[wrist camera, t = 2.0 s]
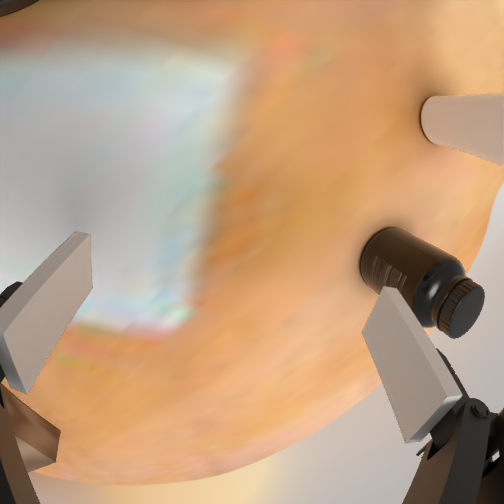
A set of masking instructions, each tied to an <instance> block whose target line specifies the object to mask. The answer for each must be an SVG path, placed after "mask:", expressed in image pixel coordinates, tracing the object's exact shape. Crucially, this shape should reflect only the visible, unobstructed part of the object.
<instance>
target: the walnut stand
mask: <svg viewBox="0 0 504 504" xmlns="http://www.w3.org/2000/svg"><path fill="white" fill-rule="evenodd" d="M1 385H2V384H1ZM2 388H3V391H4V395H5V400H6V404H7V408H8V412H9V416H10V420H11V424H12V427H13V431H14V434H15V438H16V441H17V444H18V447H19V450H20V453H21V456H22V459H23V462H24V465H25V467H26V470H27V473H28V472H30V471H33V470H36V469H39V468H42V467H44V466H47V465H50V464H52V463H55V462H56V457H57V450H58V443H59V437H60V430H59V429H57V428H56V427H54V426H53V425H52V424H50V423H49V422H47V421H46V420H45V419H43V418H42V417H41V416H39V415H38V414H37V413H36V412H34V411H33V410H32V409H30V408H29V407H28V406H27V405H25V404H24V403H23V402H22V401H21V400H19V399H18V398H17V397H16V396H15V395H13V394H12V393H11V392H10V391H9V390H8V389H6V388H5V387H4V386H3V385H2Z"/></svg>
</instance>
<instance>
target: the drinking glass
mask: <svg viewBox="0 0 504 504" xmlns="http://www.w3.org/2000/svg"><path fill="white" fill-rule="evenodd" d="M421 123H422V128H423V131H424V133H425V135H426V137H427V138H428V139H429V140H430V141H431V142H432V143H434V144H436V145H438V146H443V147H448V148H452V149H455V150H458V151H461V152H464V153H467V154H470V155H473V156H476V157H479V158H482V159H484V160H487V161H490V162H492V163H495V164H498V165H500V166H503V167H504V93H485V94H465V95H449V96H444V95H437V96H432V97H430V98H429V99H428V100H427V101H426V102H425V103H424V105H423V108H422V112H421Z"/></svg>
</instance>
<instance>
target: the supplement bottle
mask: <svg viewBox="0 0 504 504" xmlns="http://www.w3.org/2000/svg"><path fill="white" fill-rule="evenodd" d="M361 273H362V277H363V279H364V281H365V283H366V284H367V285H368V286H369V287H370V288H372V289H373V290H374V291H375V292H376V293H378V294H379V295H380V293H381V291H382V289H383V286H385V287H391V288H397V289H398V291H399V292H400V294H401V295H402V297H403V298H404V300H405V301H406V303H407V304H408V306H409V307H410V309H411V310H412V312H413V313H414V315H415V316H416V318H417V319H418V321H419V323H420V324H421V326H422V327H423V328H432V327H435V326H436V327H437V328H438V329H439V330H440V331H442V332H444V333H445V334H446V335H448V336H449V337H450V338H454V339H455V338H459V337H461V336H462V335H464V334H465V333H466V332H468V330H469V329H470V328H471V327H472V326H473V324H474V323H475V321H476V320H477V318H478V316H479V315H480V312H481V310H482V307H483V304H484V298H485V295H484V294H485V293H484V290H483V288H482V287H481V286H480V285H478V284H476V283H475V282H473V281H472V280H471V279H470V278H468V277H466V274H465V270H464V268H463V265H462V264H461V262H460V261H459V260H458V259H457V258H455V257H454V256H452V255H450V254H448V253H447V252H445V251H443V250H441V249H439V248H437V247H435V246H433V245H431V244H430V243H428V242H426V241H424V240H422V239H420V238H418V237H416V236H414V235H412V234H410V233H408V232H406V231H404V230H401V229H398V228H389V229H385V230H383V231H381V232H379V233H378V234H377V235H375V236H374V237H373V238H372V239H371V241H370V242H369V243H368V245H367V247H366V248H365V251H364V253H363V256H362V260H361Z"/></svg>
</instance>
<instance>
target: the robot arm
mask: <svg viewBox="0 0 504 504" xmlns="http://www.w3.org/2000/svg"><path fill="white" fill-rule="evenodd" d="M35 1H37V0H0V16H2V15H6V14H9V13H12V12H14V11H17V10H19V9H22V8H24V7H26V6H28V5H30V4H32V3H34V2H35ZM92 288H93V285H92V268H91V235H90V234H86V233H81V232H76V231H75V232H74V233H73V234H72V235H71V236H70V237H69V238H68V239H67V240H66V241H65V242H64V243H63V244H61V245H60V246H59V247H58V248H57V249H56V250H55V251H54V252H53V253H52V254H51V255H50V256H49V257H48V258H47V259H46V260H45V261H44V262H43V263H42V264H41V265H40V266H39V267H38V268H37V269H36V270H35V271H34V272H33V273H32V274H31V275H30V276H29V277H28V278H27V279H26V280H25V282H24V283H22V282H16V283H14V284H12V285H10V286H9V287H7V288H6V289H5V290H4V291H3V292H2V293H1V294H0V504H40V502H39V499H38V497H37V495H36V493H35V491H34V488H33V486H32V483H31V481H30V478H29V475H28V473H27V470H26V467H25V465H24V462H23V459H22V456H21V453H20V450H19V447H18V444H17V441H16V438H15V434H14V431H13V427H12V424H11V420H10V416H9V412H8V408H7V404H6V400H5V395H4V391H3V388H2V385H1V382H2V380H3V379H4V377H6V379H7V381H8V384H9V386H10V387H11V388H13V389H15V390H18V391H20V392H22V393H24V394H27V395H28V393H29V391H30V389H31V387H32V385H33V383H34V382H35V380H36V378H37V376H38V374H39V373H40V371H41V369H42V367H43V366H44V364H45V362H46V361H47V359H48V357H49V355H50V354H51V352H52V350H53V349H54V347H55V345H56V344H57V342H58V340H59V339H60V337H61V336H62V334H63V332H64V331H65V329H66V328H67V326H68V324H69V323H70V321H71V320H72V318H73V317H74V315H75V314H76V312H77V311H78V309H79V307H80V306H81V304H82V303H83V301H84V300H85V299H86V297H87V296H88V294H89V293H90V291H91V290H92ZM362 334H363V337H364V339H365V341H366V344H367V346H368V349H369V351H370V353H371V356H372V358H373V361H374V363H375V366H376V368H377V370H378V373H379V375H380V378H381V380H382V383H383V385H384V388H385V391H386V393H387V396H388V398H389V401H390V404H391V406H392V409H393V411H394V414H395V417H396V419H397V422H398V425H399V428H400V430H401V433H402V436H403V439H404V441H405V444H406V443H413V442H420V441H421V440H422V439H423V438H424V437H425V436H426V435H427V434H428V433H429V432H430V434H431V436H432V439H431V440H430V441H429V442H428V443H427V444H426V445H425V446H424V447H423V448H422V449H421V450H420V451H419V452H418V453H417V454H416V455H417V456H419V455H420V454H421V453H422V452H424V451H425V452H424V454H423V456H422V459H421V462H420V465H419V467H418V470H417V472H416V474H415V477H414V479H413V481H412V484H411V486H410V488H409V490H408V492H407V495H406V497H405V499H404V501H403V503H402V504H504V408H503V410H502V411H501V412H500V413H499V414H497V413H492V412H490V411H489V409H488V407H487V406H486V405H485V404H484V403H483V402H482V401H480V400H478V399H475V398H469V396H468V394H467V393H466V391H465V389H464V387H463V385H462V384H461V382H460V380H459V378H458V377H457V375H456V374H455V371H454V370H453V368H452V367H451V365H450V363H449V362H448V360H447V358H446V357H445V356H444V355H443V354H442V353H441V352H440V351H439V350H438V349H437V348H435V346H434V345H433V343H432V342H431V340H430V338H429V337H428V335H427V334H426V332H425V330H424V329H423V327H422V326H421V324H420V323H419V321H418V319H417V318H416V316H415V315H414V313H413V312H412V310H411V309H410V307H409V306H408V304H407V303H406V301H405V300H404V298H403V297H402V295H401V294H400V292H399V291H398V289H397V288H391V287H385V286H383V289H382V291H381V293H380V295H379V297H378V300H377V302H376V304H375V306H374V308H373V310H372V312H371V314H370V316H369V318H368V320H367V322H366V325H365V327H364V329H363V331H362ZM498 451H499V455H500V457H499V458H497V459H496V460H495V461H494V462H493V460H492V456H493V455H494V454H496V453H497V452H498Z"/></svg>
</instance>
